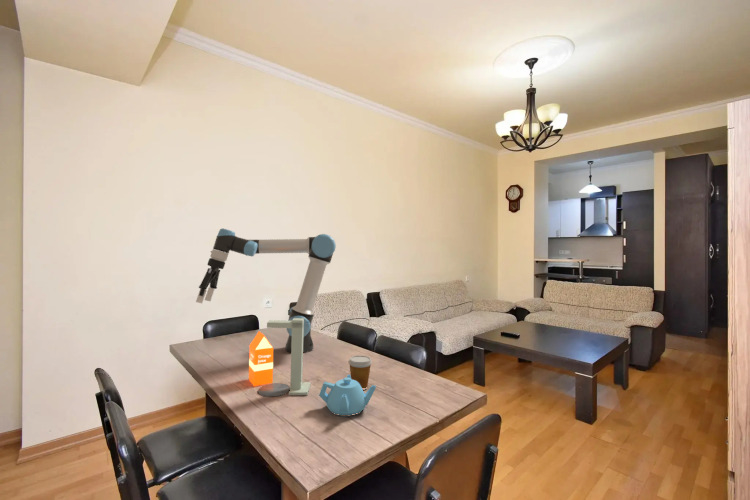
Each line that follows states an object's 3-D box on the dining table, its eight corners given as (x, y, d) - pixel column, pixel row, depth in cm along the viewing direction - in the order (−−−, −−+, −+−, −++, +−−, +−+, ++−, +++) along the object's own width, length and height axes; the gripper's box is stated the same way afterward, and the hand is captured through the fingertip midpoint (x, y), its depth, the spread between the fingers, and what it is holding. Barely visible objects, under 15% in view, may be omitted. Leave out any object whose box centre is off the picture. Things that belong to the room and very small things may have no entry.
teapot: (349, 395, 134) (350, 367, 134) (377, 409, 123) (377, 379, 123) (316, 407, 123) (317, 377, 123) (343, 423, 112) (343, 390, 112)
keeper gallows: (263, 395, 131) (265, 321, 131) (269, 385, 141) (271, 316, 141) (307, 395, 132) (309, 322, 132) (310, 385, 142) (312, 316, 142)
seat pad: (254, 396, 130) (254, 395, 130) (262, 384, 142) (262, 383, 142) (286, 396, 131) (287, 395, 131) (292, 384, 143) (292, 383, 143)
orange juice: (266, 375, 151) (268, 330, 151) (273, 382, 144) (274, 334, 144) (248, 379, 147) (249, 332, 147) (253, 386, 139) (254, 336, 139)
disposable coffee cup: (374, 385, 144) (375, 356, 144) (366, 394, 135) (367, 363, 135) (353, 382, 147) (353, 353, 147) (343, 390, 138) (344, 360, 138)
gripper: (216, 258, 183) (203, 297, 180) (202, 255, 158) (186, 301, 155) (231, 262, 184) (217, 301, 181) (219, 260, 159) (203, 305, 157)
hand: (203, 301), depth 168 cm, fingers open, 13 cm apart
